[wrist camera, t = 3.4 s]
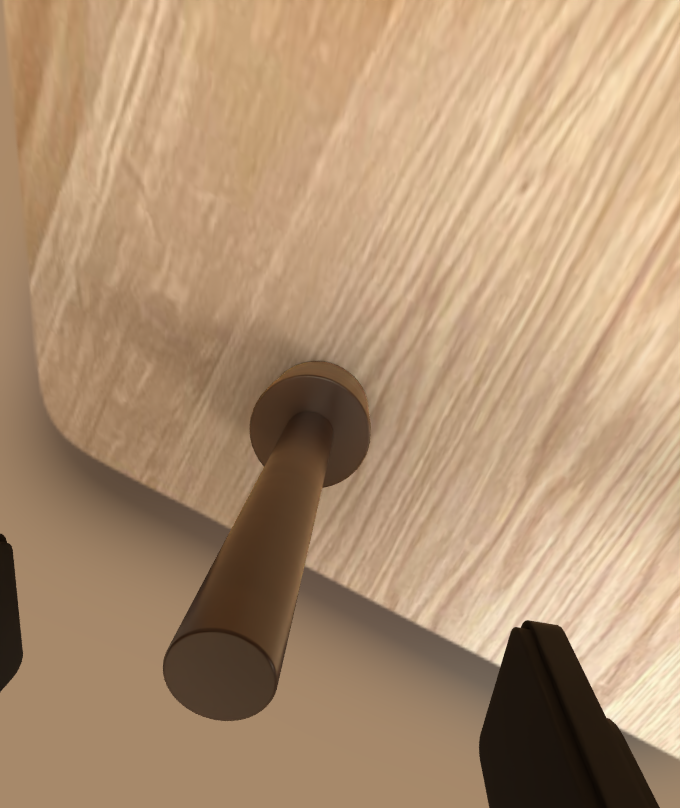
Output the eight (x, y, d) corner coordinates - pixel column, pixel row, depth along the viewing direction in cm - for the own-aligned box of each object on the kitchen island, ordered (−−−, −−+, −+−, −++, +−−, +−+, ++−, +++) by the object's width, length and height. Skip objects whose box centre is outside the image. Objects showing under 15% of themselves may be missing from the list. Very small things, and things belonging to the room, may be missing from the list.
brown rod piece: (261, 451, 23) (81, 759, 9) (270, 351, 22) (70, 528, 7) (362, 465, 23) (344, 804, 9) (378, 366, 22) (388, 576, 7)
